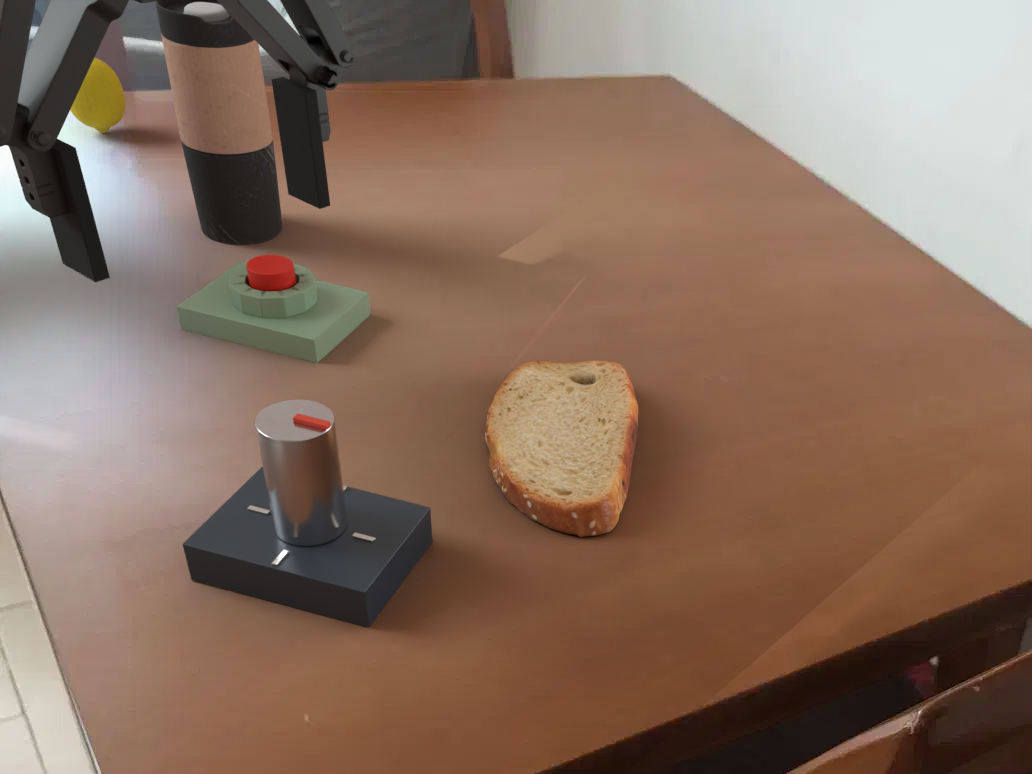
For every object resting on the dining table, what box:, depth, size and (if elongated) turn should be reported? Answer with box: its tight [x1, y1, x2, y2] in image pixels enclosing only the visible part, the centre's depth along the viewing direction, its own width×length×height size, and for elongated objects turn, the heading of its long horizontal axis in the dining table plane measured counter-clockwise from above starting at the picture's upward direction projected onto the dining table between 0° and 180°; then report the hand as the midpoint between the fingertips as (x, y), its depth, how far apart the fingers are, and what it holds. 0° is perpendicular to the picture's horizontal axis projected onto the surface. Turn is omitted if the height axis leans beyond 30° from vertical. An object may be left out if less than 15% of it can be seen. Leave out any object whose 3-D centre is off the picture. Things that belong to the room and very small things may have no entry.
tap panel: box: [182, 465, 434, 628], centre depth 72 cm, size 12×9×3 cm
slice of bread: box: [484, 359, 639, 538], centre depth 86 cm, size 18×18×4 cm
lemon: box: [69, 57, 126, 134], centre depth 116 cm, size 6×6×8 cm
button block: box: [176, 261, 371, 364], centre depth 93 cm, size 12×9×4 cm
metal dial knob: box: [254, 399, 347, 546], centre depth 69 cm, size 4×4×8 cm
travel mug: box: [155, 0, 283, 246], centre depth 100 cm, size 8×8×20 cm
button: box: [246, 254, 296, 291], centre depth 92 cm, size 4×4×2 cm
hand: (206, 233), depth 61 cm, fingers open, 13 cm apart
